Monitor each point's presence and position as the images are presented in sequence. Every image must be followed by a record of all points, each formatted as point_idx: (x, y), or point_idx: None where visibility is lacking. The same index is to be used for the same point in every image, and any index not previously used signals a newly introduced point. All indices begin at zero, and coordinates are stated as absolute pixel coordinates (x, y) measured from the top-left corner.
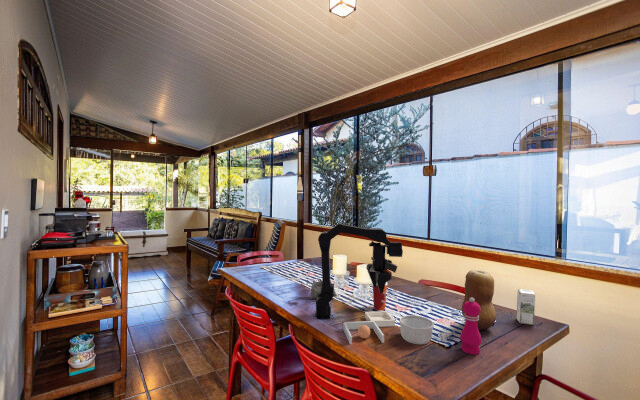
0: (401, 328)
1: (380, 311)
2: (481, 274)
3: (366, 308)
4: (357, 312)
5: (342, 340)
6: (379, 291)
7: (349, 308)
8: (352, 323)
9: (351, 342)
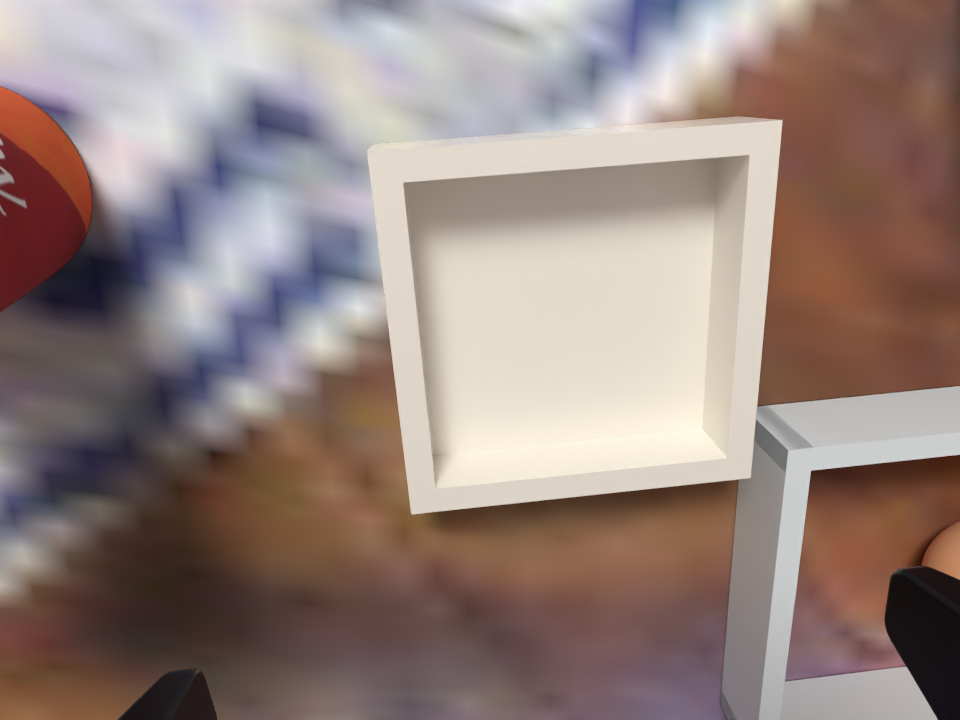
0: None
1: (385, 276)
2: None
3: (42, 403)
4: (236, 541)
5: None
6: (916, 675)
7: (95, 624)
8: (779, 681)
9: None
